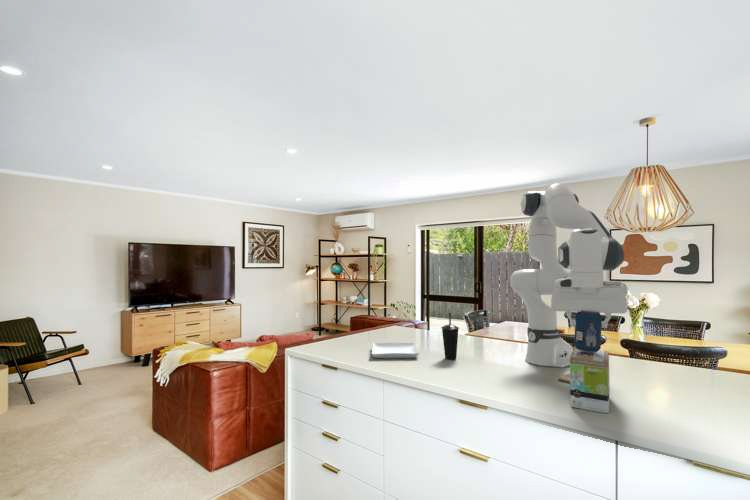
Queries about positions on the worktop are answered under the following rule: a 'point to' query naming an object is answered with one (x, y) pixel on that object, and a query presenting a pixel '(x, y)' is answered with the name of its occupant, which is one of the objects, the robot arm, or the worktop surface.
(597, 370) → the tea box
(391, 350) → the salad plate
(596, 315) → the soda can
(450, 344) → the drinking cup
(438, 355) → the worktop surface
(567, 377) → the walnut coaster
